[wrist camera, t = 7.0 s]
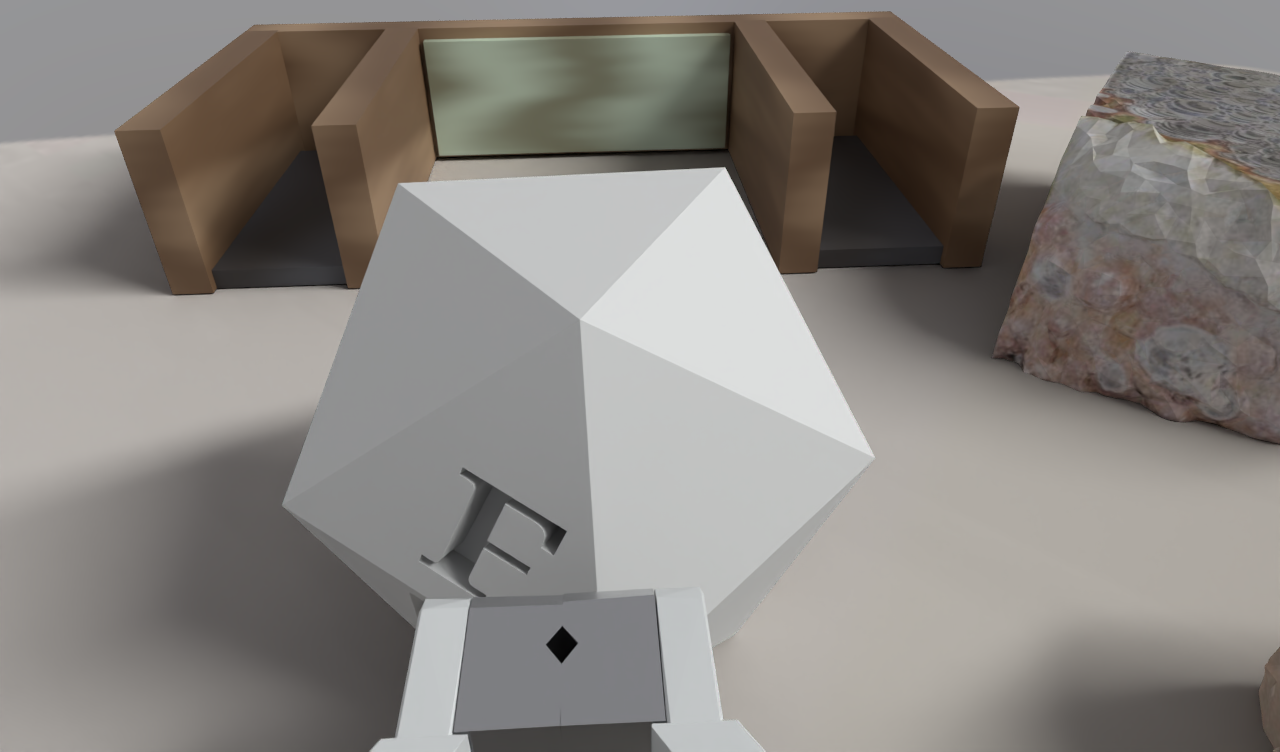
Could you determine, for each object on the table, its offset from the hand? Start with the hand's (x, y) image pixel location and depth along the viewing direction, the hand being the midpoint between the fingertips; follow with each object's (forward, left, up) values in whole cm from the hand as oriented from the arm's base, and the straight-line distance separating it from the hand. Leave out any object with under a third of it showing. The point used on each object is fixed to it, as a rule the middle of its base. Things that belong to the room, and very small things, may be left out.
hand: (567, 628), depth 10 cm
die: (0, +5, -5) cm, 7 cm away
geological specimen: (+19, +15, -6) cm, 25 cm away
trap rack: (0, +23, -5) cm, 24 cm away
